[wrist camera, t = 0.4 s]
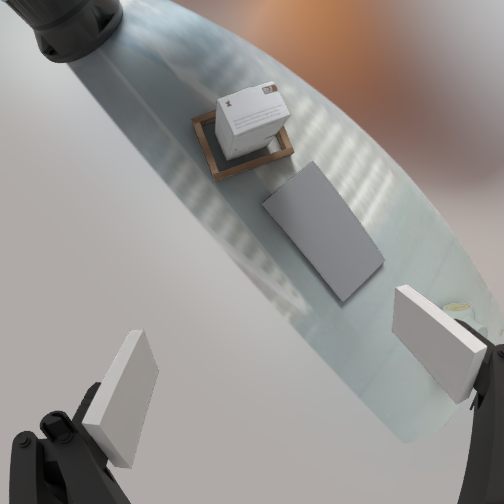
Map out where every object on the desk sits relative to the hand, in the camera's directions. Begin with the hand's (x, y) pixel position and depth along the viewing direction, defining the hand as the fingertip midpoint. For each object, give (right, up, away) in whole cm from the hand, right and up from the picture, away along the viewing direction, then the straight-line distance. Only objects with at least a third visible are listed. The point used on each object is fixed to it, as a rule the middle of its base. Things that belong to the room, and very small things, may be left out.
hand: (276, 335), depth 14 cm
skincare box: (-3, +19, +22) cm, 29 cm away
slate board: (+9, +7, +25) cm, 28 cm away
